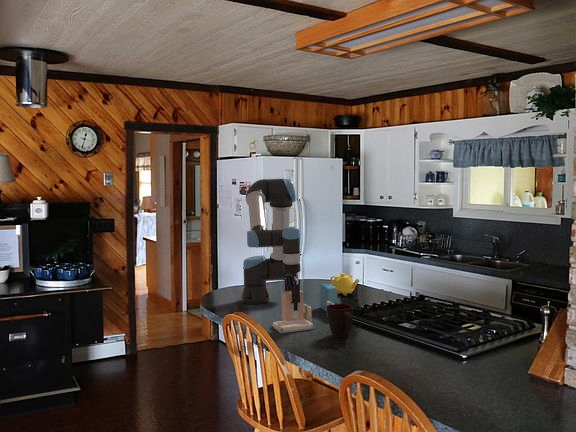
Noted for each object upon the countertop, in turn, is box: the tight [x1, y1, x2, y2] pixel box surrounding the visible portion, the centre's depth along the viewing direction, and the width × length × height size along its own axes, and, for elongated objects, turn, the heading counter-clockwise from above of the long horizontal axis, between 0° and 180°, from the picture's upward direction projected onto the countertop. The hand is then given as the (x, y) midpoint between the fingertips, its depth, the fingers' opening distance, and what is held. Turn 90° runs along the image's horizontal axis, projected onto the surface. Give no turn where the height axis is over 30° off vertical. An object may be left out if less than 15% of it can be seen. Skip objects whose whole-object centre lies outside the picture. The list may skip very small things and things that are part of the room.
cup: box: [326, 303, 354, 338], centre depth 233 cm, size 10×14×12 cm
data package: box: [319, 283, 338, 313], centre depth 277 cm, size 12×4×12 cm, turn 16°
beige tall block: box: [281, 290, 304, 321], centre depth 247 cm, size 5×8×12 cm, turn 110°
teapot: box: [329, 272, 360, 297], centre depth 312 cm, size 14×14×11 cm
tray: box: [271, 319, 315, 334], centre depth 247 cm, size 11×15×2 cm
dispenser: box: [303, 301, 334, 324], centre depth 260 cm, size 8×13×7 cm, turn 110°
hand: (292, 316), depth 247 cm, fingers closed on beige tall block, 5 cm apart
